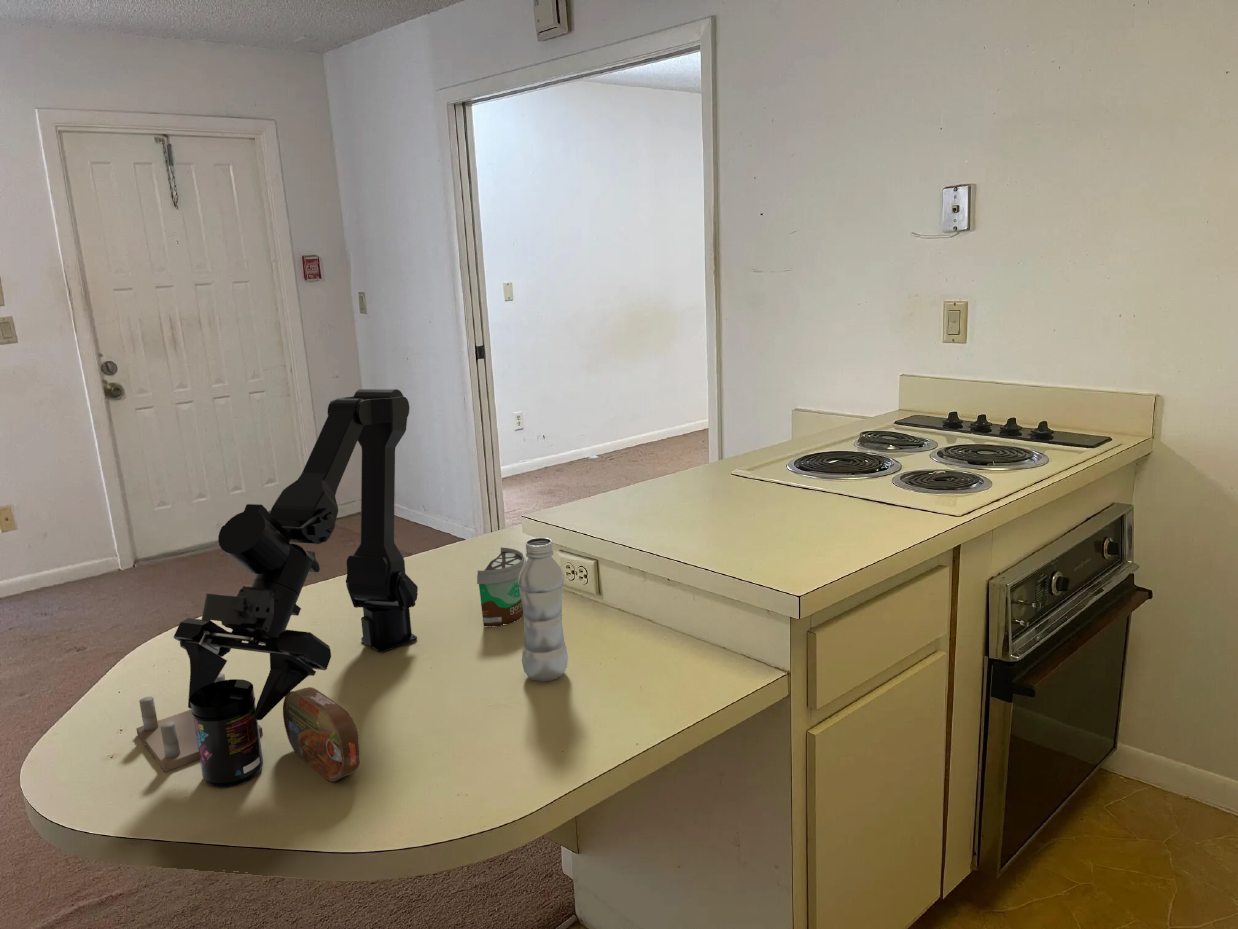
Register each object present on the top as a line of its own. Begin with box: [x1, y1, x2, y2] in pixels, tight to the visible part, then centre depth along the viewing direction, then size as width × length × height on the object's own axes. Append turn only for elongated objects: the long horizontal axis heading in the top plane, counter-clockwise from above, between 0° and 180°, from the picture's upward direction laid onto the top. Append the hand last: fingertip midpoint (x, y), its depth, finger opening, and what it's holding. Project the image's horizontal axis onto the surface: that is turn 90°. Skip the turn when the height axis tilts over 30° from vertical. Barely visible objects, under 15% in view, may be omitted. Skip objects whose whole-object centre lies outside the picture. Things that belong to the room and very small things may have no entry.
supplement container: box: [190, 678, 264, 789], centre depth 104 cm, size 7×7×10 cm
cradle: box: [135, 672, 264, 773], centre depth 113 cm, size 12×12×5 cm
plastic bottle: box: [518, 537, 569, 682], centre depth 124 cm, size 6×7×20 cm
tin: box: [282, 686, 361, 782], centre depth 105 cm, size 15×3×8 cm, turn 45°
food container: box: [476, 546, 527, 628], centre depth 146 cm, size 12×6×10 cm, turn 168°
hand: (223, 714), depth 103 cm, fingers open, 9 cm apart
